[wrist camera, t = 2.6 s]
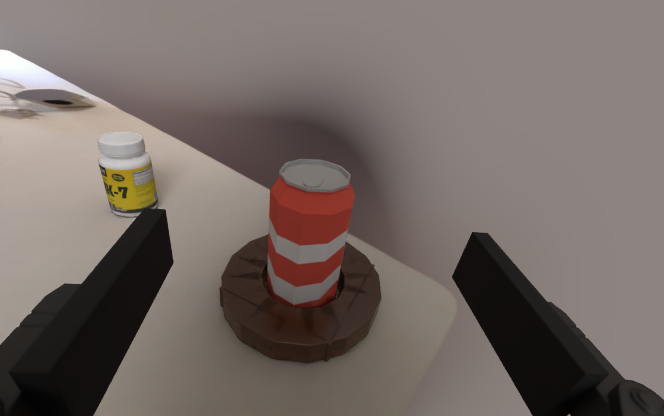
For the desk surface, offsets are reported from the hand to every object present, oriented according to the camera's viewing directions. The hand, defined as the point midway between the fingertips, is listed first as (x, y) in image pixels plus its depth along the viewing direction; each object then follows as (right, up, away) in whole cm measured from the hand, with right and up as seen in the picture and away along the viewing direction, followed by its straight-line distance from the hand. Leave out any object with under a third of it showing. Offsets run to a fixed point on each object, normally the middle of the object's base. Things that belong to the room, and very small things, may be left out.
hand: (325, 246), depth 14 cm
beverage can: (-2, -6, +15) cm, 16 cm away
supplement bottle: (-23, +2, +23) cm, 32 cm away
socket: (-2, -6, +15) cm, 16 cm away
